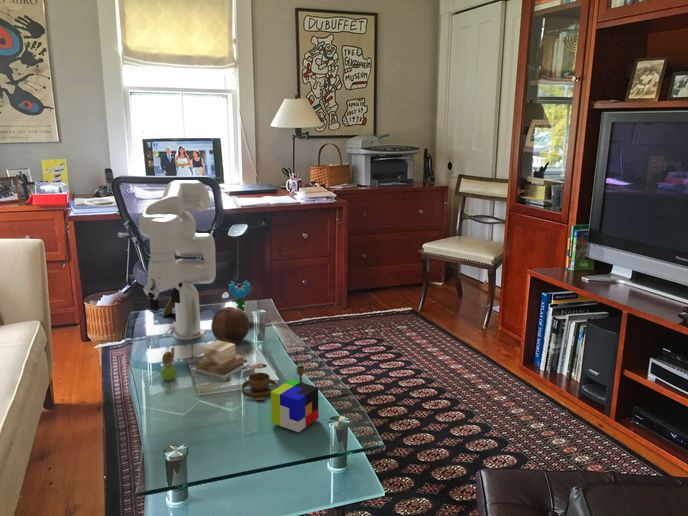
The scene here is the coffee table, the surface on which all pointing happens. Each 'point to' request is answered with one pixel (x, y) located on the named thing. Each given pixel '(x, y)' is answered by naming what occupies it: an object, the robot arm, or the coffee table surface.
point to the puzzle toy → (294, 405)
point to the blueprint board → (223, 375)
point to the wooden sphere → (230, 325)
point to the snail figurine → (168, 366)
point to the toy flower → (239, 292)
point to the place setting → (264, 383)
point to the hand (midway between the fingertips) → (165, 306)
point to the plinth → (220, 367)
